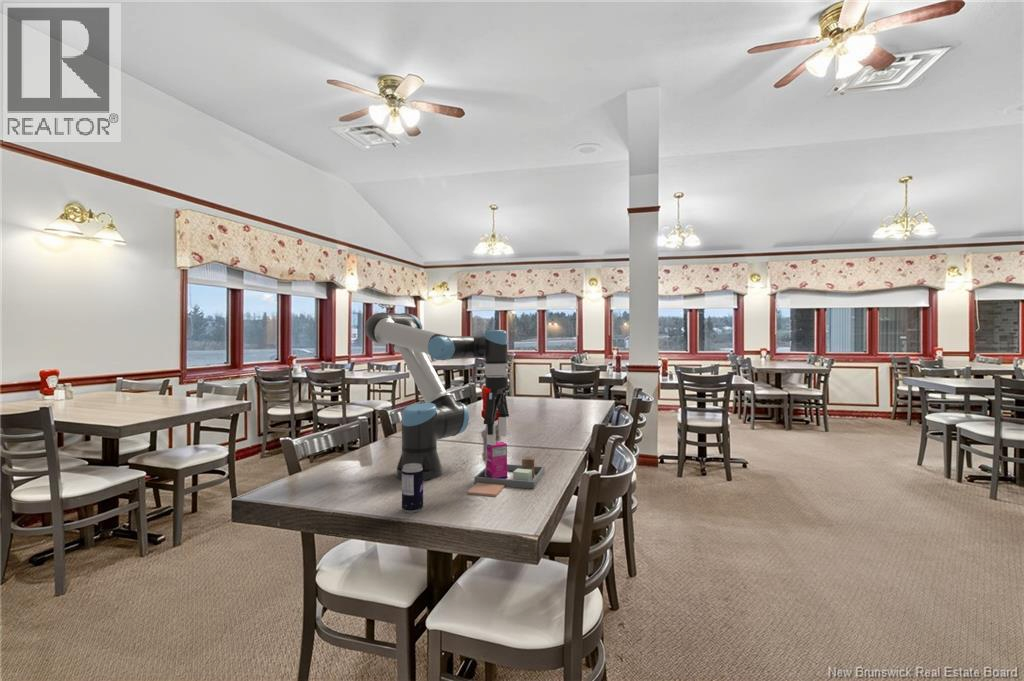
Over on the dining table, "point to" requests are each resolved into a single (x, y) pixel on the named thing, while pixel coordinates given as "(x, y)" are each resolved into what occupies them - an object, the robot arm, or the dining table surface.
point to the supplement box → (496, 460)
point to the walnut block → (528, 463)
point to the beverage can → (412, 487)
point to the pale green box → (522, 474)
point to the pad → (486, 489)
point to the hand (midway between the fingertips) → (497, 440)
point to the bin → (509, 482)
